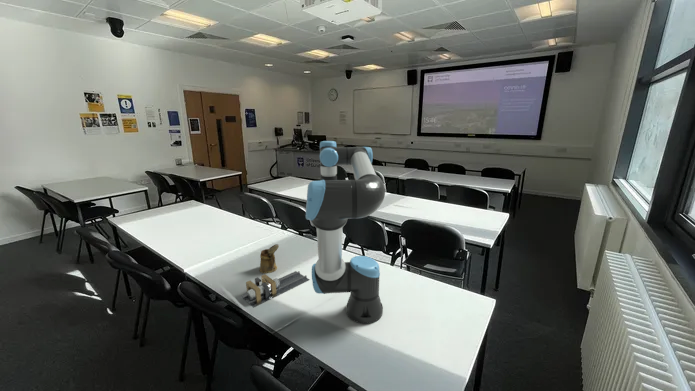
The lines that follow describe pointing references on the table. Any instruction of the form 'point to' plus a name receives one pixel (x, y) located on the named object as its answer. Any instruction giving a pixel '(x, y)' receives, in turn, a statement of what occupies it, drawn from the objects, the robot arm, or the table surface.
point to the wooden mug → (268, 260)
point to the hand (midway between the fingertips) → (329, 222)
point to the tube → (262, 289)
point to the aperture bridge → (263, 286)
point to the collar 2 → (272, 282)
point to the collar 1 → (257, 290)
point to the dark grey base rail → (281, 287)
